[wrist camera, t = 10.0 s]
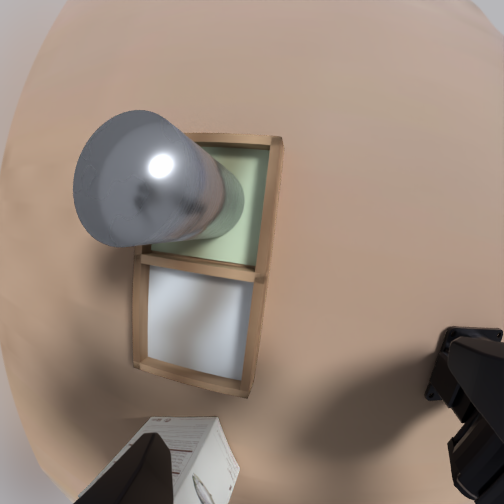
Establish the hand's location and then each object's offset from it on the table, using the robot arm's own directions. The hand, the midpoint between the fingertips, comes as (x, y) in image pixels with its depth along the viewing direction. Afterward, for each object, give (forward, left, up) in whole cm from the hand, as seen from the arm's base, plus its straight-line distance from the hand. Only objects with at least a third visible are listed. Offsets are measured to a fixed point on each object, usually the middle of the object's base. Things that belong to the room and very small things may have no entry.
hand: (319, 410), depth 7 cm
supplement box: (+8, +16, -13) cm, 22 cm away
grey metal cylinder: (+7, -6, -11) cm, 15 cm away
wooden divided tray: (+8, -1, -13) cm, 15 cm away
